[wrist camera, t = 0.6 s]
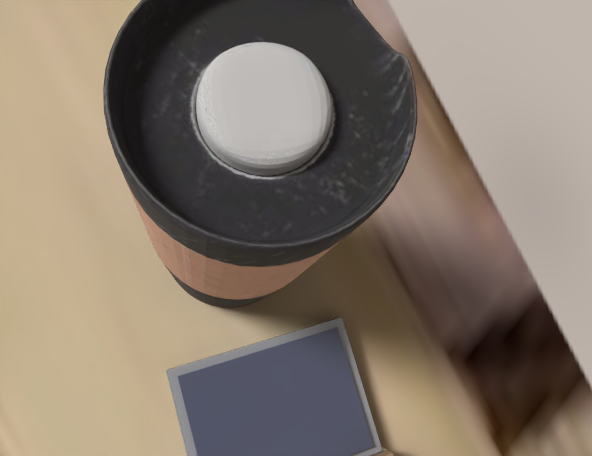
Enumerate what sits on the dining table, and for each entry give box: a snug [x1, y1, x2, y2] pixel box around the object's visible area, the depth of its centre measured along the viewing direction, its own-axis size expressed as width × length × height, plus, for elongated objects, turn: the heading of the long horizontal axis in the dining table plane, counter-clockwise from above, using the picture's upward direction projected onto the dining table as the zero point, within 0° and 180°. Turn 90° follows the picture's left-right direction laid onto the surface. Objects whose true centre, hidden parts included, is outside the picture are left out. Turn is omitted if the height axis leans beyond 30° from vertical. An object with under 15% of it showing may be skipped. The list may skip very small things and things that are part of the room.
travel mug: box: [103, 0, 417, 307], centre depth 22 cm, size 8×8×20 cm
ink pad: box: [166, 317, 382, 456], centre depth 30 cm, size 8×10×1 cm
